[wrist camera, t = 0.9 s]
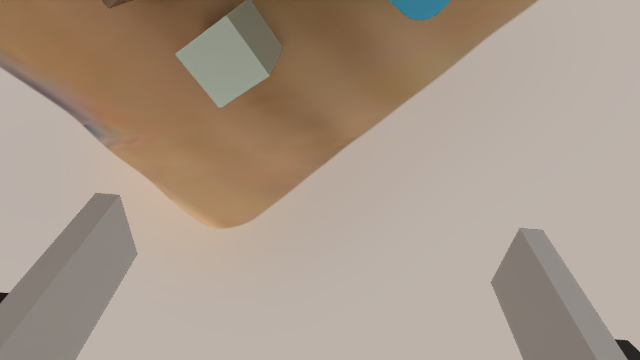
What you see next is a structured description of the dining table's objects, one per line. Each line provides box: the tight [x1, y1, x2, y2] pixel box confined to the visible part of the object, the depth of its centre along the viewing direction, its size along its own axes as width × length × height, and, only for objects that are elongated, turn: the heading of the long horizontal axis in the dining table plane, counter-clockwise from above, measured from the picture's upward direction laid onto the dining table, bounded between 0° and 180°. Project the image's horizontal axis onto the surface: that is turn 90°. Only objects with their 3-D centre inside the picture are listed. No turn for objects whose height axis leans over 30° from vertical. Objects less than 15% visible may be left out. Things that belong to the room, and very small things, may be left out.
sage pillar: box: [175, 0, 283, 108], centre depth 31 cm, size 5×5×8 cm
